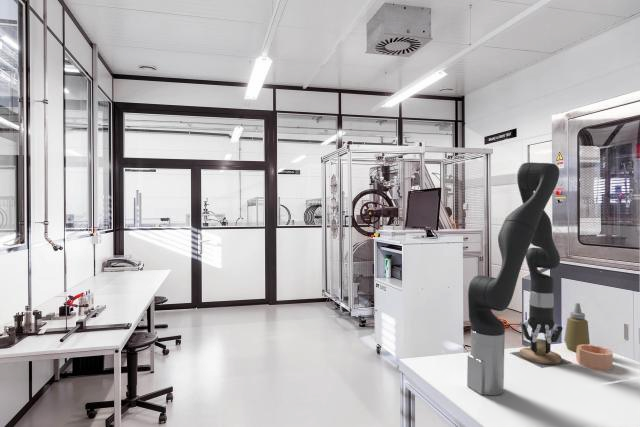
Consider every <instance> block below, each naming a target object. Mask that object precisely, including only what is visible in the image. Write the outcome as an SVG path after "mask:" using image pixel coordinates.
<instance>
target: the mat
mask: <svg viewBox="0 0 640 427" xmlns="http://www.w3.org/2000/svg"><path fill="white" fill-rule="evenodd" d="M509 354H511V355H513V356H515V357H518V358H519V359H521V360H524V361H526V362H529V363H530V364H532V365H534V366H537V367H539V368H542V369H543V368H549V367H550V368H551V367H555V366H562V365H563V366H564V365H568V364H573V361H570V360H567V359H565V358H562V357H561V363H559V364H555V365H546V364H539V363H535V362H531V361H528V360H526V359H524V358H522V357H521V356H520V351H513V352H509Z"/></svg>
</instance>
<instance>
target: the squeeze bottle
mask: <svg viewBox="0 0 640 427" xmlns="http://www.w3.org/2000/svg"><path fill="white" fill-rule="evenodd" d="M569 314H570V315H569V316H570V317H567V320H566V327H565V332H564V333H565V334H564V340H563V341H564V342H565V346H566V348H567V350H568V351H570V352H573V353H576V351H577V346H578V345H582V344H587V345H591V344H590V331H589V321H588V320H586V314H585V313H584V312H582V309H581V304H580V303H577V302H576V303H575V306H574V309H573V311H570V312H569Z"/></svg>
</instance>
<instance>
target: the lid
mask: <svg viewBox="0 0 640 427" xmlns="http://www.w3.org/2000/svg"><path fill="white" fill-rule="evenodd" d="M519 352H520V356H521V357H522V358H524V359H526V360H528V361H531V362H535V363H539V364H546V365H555V364H559V363H561V358H562V356H561V355H560V354H558V353H557V352H555V351H552V350H550V352H549V354H546V340H545V338H544V339H543V338H537V339H536V353H534V352H533V351H532V350H531V348H530V347H523V348H520V350H519ZM524 359H523V360H524ZM526 360H525V361H526ZM528 361H527V362H528Z"/></svg>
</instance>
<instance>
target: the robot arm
mask: <svg viewBox="0 0 640 427" xmlns="http://www.w3.org/2000/svg"><path fill="white" fill-rule="evenodd" d="M559 179H560V169H559V166H558V165H557V164H555V163H551V162H524V163H522V164H521V165H520V166H519V168H518V170H517V176H516V180H517V186H518V191H519V194H520V197H521V202H522V204H520V206H518V207H517V208H515V209H514V210H513V211H511V212H509V213H510V214H508V215H507V216H506V217H505V219H504V221H503V224H502V226H501V228H500V230H499V232H498V237H497V243H498V247H499V252H500V255H501V268H500V271H499V273H498V274H497V277H492V276H487V275H476V276H474V277H473V278H471V280H470V281H469V282H470V283H469V285H468V290H467V291H468V292H467V299H468V300H467V303H468V320H469V323H470V354H467V366H466V367H467V369H466V370H467V375H466V376H467V378H466V379H467V380H466V386H467V387H468V388H469V389H471V390H473V391H475V392H476V393H478V394H479V395H483V396H484V395H486V396H499V395H502V394H503V393H504V386H505V385H504V382H505V376H504V375H505V341H506V340H505V339H506V338H505V337H506V336H505V335H506V334H505V332H506V326H505V325H506V324H504V322H503V321H502V320H501V319H500V318H498V317H497V316H496V315H495V314H494V313H493V311H497V312H503V311H505V310H506V309H507V308H508V307H509V305H510V303H511V302H512V299H513V296H514V293H515V289H516V287H517V282H518V279H519V276H520V272H521V268H522V266H523V263H524V261H526V264H527V267H528V271H529V278H530V292H529V300H528V302H529V306H528V308H529V309H528V310H529V311H528V319H527V321H525V322H522V321H521V322H520V323H519V325H520V328H521V331H522V332H523V336H524V338H525V339H526V340H527V341H530V342H529V344H530V346H529V348H531V350H532V351H533V352H534V353H536V339H538V337H539V334H543V335H544V340H546V354H549V352H550V351H551V344H552V343H556V342H557V341H558V339H559V338H560V336H561V333H562V331H563V326H561V324H556V323H555V321H554V304H555V300H554V299H555V297H554V278H553V276H551V275H548V274H545V273H542V272H540V270H539V269H549V270H550V269H551V270H553V269H556V268H558V267H559V265H560V263H561V255H560V253H559V251H558V248H557V247H556V244H555V241H554V239H553V238H554V237H553V227H552V226H553V224H552V222H551V218H550V216H549V215H548V213H547V212H546V206H547V204H548V203H549V200H550V199H551V197H552V195H553V193H554V191H555V189H556V188H557V184H558V182H559ZM531 245H532V246H535V247H530V246H531ZM529 327H530V328H531V330H530V334H529V330H528V329H529ZM552 329H553V332H552V334H551V332H550V331H552Z"/></svg>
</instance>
